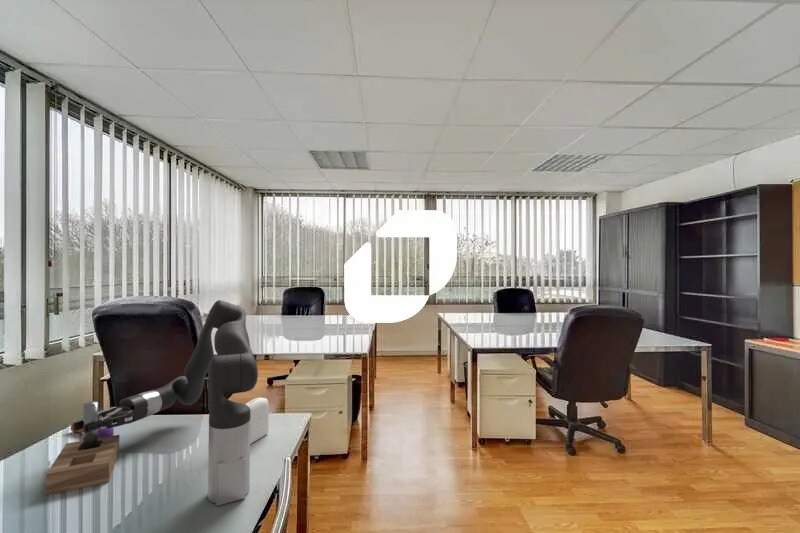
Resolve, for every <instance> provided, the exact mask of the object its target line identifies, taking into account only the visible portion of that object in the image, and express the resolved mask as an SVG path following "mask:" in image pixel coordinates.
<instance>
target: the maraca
mask: <svg viewBox="0 0 800 533" xmlns="http://www.w3.org/2000/svg"><path fill="white" fill-rule="evenodd" d="M77 421H78V420H76V421H75V422H77ZM70 427H71V428H70V431H71V432H73V433H83V429H80V430H77V431H74V430H73V423H72V424H70ZM114 434H115V432H114V427H113V428H109V429H107V427H105V428H98V438H102V437H108V436H114Z"/></svg>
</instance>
